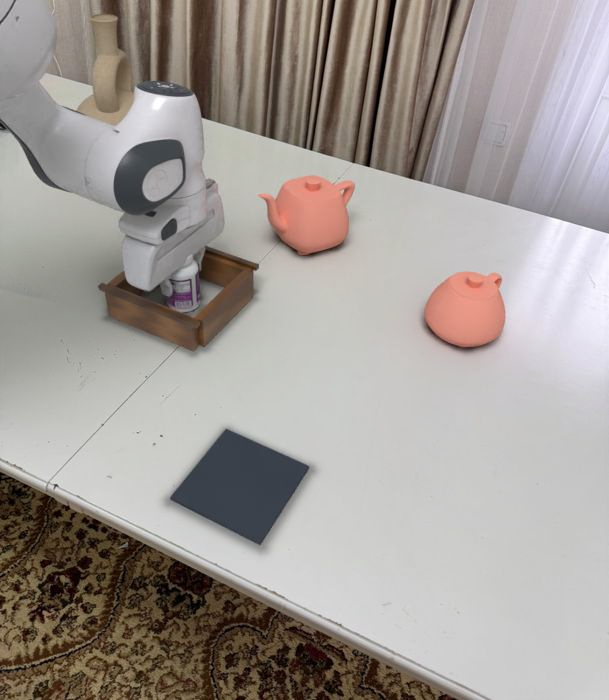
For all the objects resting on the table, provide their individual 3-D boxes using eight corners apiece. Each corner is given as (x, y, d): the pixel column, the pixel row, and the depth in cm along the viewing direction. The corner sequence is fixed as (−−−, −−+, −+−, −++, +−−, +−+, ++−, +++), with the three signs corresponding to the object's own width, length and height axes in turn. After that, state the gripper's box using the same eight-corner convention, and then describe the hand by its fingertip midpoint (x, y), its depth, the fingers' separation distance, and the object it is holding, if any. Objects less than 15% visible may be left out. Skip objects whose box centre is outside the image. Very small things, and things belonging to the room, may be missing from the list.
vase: (97, 155, 135) (71, 1, 115) (173, 161, 135) (160, 9, 115) (72, 191, 123) (39, 26, 103) (157, 198, 123) (139, 34, 103)
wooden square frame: (103, 315, 96) (97, 285, 92) (171, 260, 108) (169, 232, 104) (197, 354, 90) (195, 324, 87) (258, 292, 102) (259, 264, 99)
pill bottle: (181, 289, 102) (177, 238, 95) (207, 300, 100) (204, 249, 93) (159, 305, 98) (153, 254, 92) (186, 318, 96) (181, 266, 90)
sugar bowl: (405, 323, 99) (417, 270, 92) (461, 293, 106) (476, 241, 99) (465, 366, 92) (483, 312, 85) (521, 330, 99) (541, 278, 92)
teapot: (240, 236, 115) (239, 175, 106) (329, 212, 123) (335, 154, 115) (276, 273, 107) (279, 210, 98) (369, 245, 115) (378, 184, 107)
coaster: (170, 499, 72) (169, 497, 71) (226, 430, 80) (226, 428, 80) (260, 545, 68) (260, 543, 68) (309, 468, 76) (309, 465, 76)
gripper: (198, 168, 95) (202, 245, 104) (109, 227, 81) (123, 310, 90) (233, 179, 93) (234, 256, 102) (148, 241, 79) (158, 324, 88)
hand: (181, 282), depth 96 cm, fingers closed on pill bottle, 5 cm apart
